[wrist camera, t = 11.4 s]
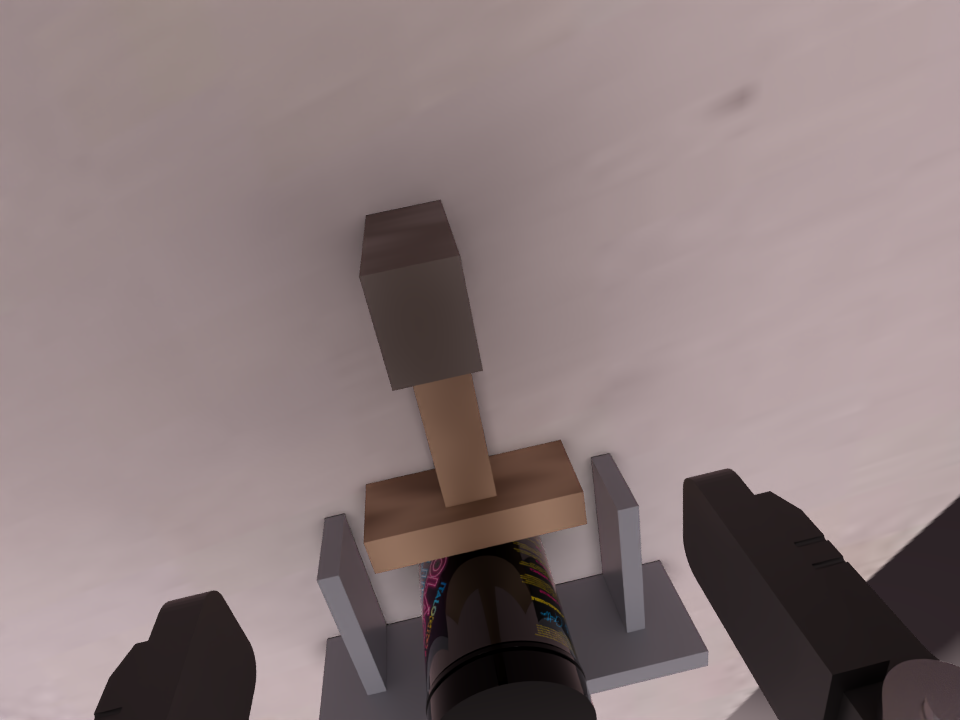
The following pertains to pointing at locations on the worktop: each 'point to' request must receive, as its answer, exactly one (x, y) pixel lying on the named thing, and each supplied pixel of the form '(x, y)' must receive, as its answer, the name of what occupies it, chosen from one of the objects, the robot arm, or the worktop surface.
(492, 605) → the supplement container
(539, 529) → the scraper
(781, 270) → the worktop surface
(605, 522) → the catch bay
